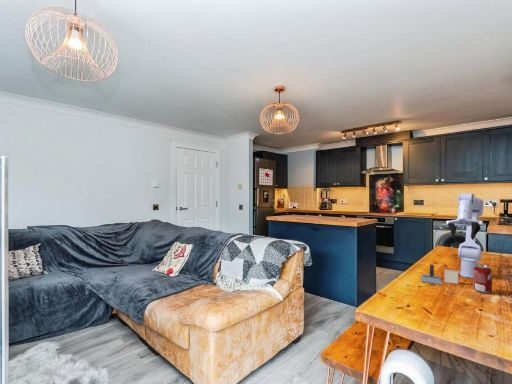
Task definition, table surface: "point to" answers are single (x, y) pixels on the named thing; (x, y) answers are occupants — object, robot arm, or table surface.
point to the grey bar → (431, 273)
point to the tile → (451, 276)
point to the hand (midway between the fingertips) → (462, 238)
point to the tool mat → (431, 280)
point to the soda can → (482, 279)
